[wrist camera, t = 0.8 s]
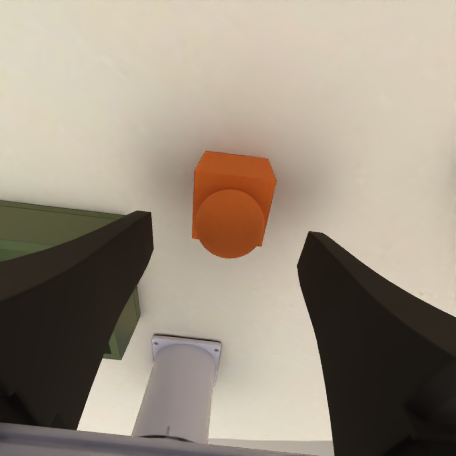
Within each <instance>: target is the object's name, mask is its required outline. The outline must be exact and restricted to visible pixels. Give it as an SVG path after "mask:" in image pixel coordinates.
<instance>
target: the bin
mask: <svg viewBox="0 0 456 456" xmlns="http://www.w3.org/2000/svg"><path fill="white" fill-rule="evenodd" d="M122 217H124V215H116V214H108V213H99V212H91V211H83V210H74V209H66V208H58V207H49V206H41V205H33V204H24V203H16V202H8V201H0V262H1V261H5V260H9V259H13V258H17V257H20V256H24V255H27V254H31V253H35V252H38V251H42V250H45V249H48V248H51V247H54V246H57V245H60V244H63V243H65V242H68V241H71V240H73V239H76V238H78V237H80V236H83V235H85V234H87V233H90V232H92V231H94V230H97V229H99V228H101V227H103V226H105V225H107V224H109V223H111V222H114V221H116V220H118V219H120V218H122ZM139 318H140V311H139V303H138V295H137V287H135V289H134V291H133V293H132V295H131V296H130V298H129V300H128V302H127V303H126V305H125V307H124V309H123V311H122V313H121V315H120V317H119V319H118V322H117V324H116V326H115V329H114V331H113V333H112V336H111V338H110V340H109V343H108V345H107V348H106V350H105V353H104V355H103V358H106V359H115V360H121V359H122V357H123V355H124V353H125V350H126V348H127V346H128V344H129V341H130V339H131V337H132V335H133V332H134V330H135V328H136V325H137V323H138V321H139Z"/></svg>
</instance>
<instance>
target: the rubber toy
mask: <svg viewBox="0 0 456 456" xmlns="http://www.w3.org/2000/svg"><path fill="white" fill-rule="evenodd" d="M275 185H276V178H275V175H274V173H273V170H272V168H271V165H270V162H269V160H268V159H265V158H257V157H249V156H241V155H233V154H225V153H217V152H209V151H205V153H204V155H203V157H202V158H201V160H200V162H199V164H198V165H197V167H196V169H195V172H194V199H193V226H192V238H193V239H199V240H200V242H201V243H202V245H203V246H204V247H205V248H206V249H207V250H208V251H209V252H211V253H212V254H214V255H216V256H219V257H222V258H238V257H241V256H244V255H246V254H248V253H249V252H251V251H252V250H253V249H254V248H255V247H256V246H260V247H261V246H262V242H263V238H264V233H265V229H266V225H267V220H268V216H269V212H270V207H271V203H272V198H273V194H274V190H275Z"/></svg>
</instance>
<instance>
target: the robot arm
mask: <svg viewBox="0 0 456 456" xmlns="http://www.w3.org/2000/svg"><path fill="white" fill-rule="evenodd" d="M153 249H154V247H153V232H152V218H151V212H145V211H135V212H133V213H130V214H128V215H126V216H124V217H122V218H120V219H118V220H116V221H114V222H111V223H109V224H107V225H105V226H103V227H101V228H99V229H97V230H94V231H92V232H90V233H87V234H85V235H83V236H80V237H78V238H76V239H73V240H71V241H68V242H65V243H63V244H60V245H57V246H54V247H51V248H48V249H45V250H42V251H38V252H35V253H31V254H27V255H24V256H20V257H17V258H13V259H9V260H5V261H1V262H0V456H316V455H306V454H296V453H287V452H277V451H268V450H258V449H248V448H239V447H230V446H220V445H211V444H208V434H209V423H210V413H211V402H212V392H213V386H215V382H216V376H217V369H218V363H219V357H220V351H221V344H220V343H219V342H212V341H203V340H194V339H185V338H176V337H167V336H158V335H155V336H153V337H152V349H153V359H154V365H153V368H152V371H151V375H150V378H149V381H148V384H147V387H146V390H145V393H144V397H143V400H142V403H141V406H140V409H139V412H138V416H137V419H136V422H135V425H134V428H133V431H132V435H131V436H125V435H116V434H106V433H97V432H87V431H78V430H77V427H78V424H79V421H80V418H81V415H82V413H83V410H84V407H85V404H86V401H87V398H88V395H89V392H90V390H91V387H92V384H93V382H94V379H95V376H96V374H97V371H98V368H99V366H100V363H101V360H102V358H103V355H104V353H105V350H106V348H107V345H108V343H109V340H110V338H111V336H112V333H113V331H114V329H115V326H116V324H117V322H118V319H119V317H120V315H121V313H122V311H123V309H124V307H125V305H126V303H127V302H128V300H129V298H130V296H131V295H132V293H133V291H134V289H135V287H136V286H137V284H138V282H139V280H140V278H141V277H142V275H143V273H144V271H145V269H146V267H147V265H148V263H149V260H150V257H151V255H152V252H153ZM297 269H298V276H299V282H300V286H301V290H302V293H303V296H304V300H305V303H306V306H307V309H308V312H309V316H310V319H311V322H312V325H313V328H314V332H315V336H316V339H317V344H318V349H319V354H320V359H321V364H322V370H323V376H324V381H325V387H326V394H327V400H328V407H329V414H330V421H331V430H332V438H333V446H334V455H335V456H456V317H454V316H452V315H450V314H448V313H446V312H444V311H442V310H440V309H438V308H436V307H434V306H432V305H430V304H428V303H426V302H424V301H422V300H420V299H419V298H417V297H415V296H413V295H411V294H410V293H408V292H406V291H405V290H403V289H401V288H400V287H398V286H396V285H395V284H393V283H391V282H390V281H388V280H387V279H385V278H384V277H382V276H381V275H379V274H378V273H376V272H375V271H373V270H372V269H370V268H369V267H368V266H366V265H365V264H363V263H362V262H361V261H359V260H358V259H357V258H355V257H354V256H353V255H352V254H350V253H349V252H348V251H346V250H345V249H344V248H342V247H341V246H340V245H339V244H337V243H336V242H335V241H333V240H332V239H331V238H329V237H328V236H327V235H325V234H323V233H320V232H312V231H309V232H308V235H307V238H306V241H305V244H304V247H303V250H302V253H301V256H300V258H299V261H298V264H297Z"/></svg>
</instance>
